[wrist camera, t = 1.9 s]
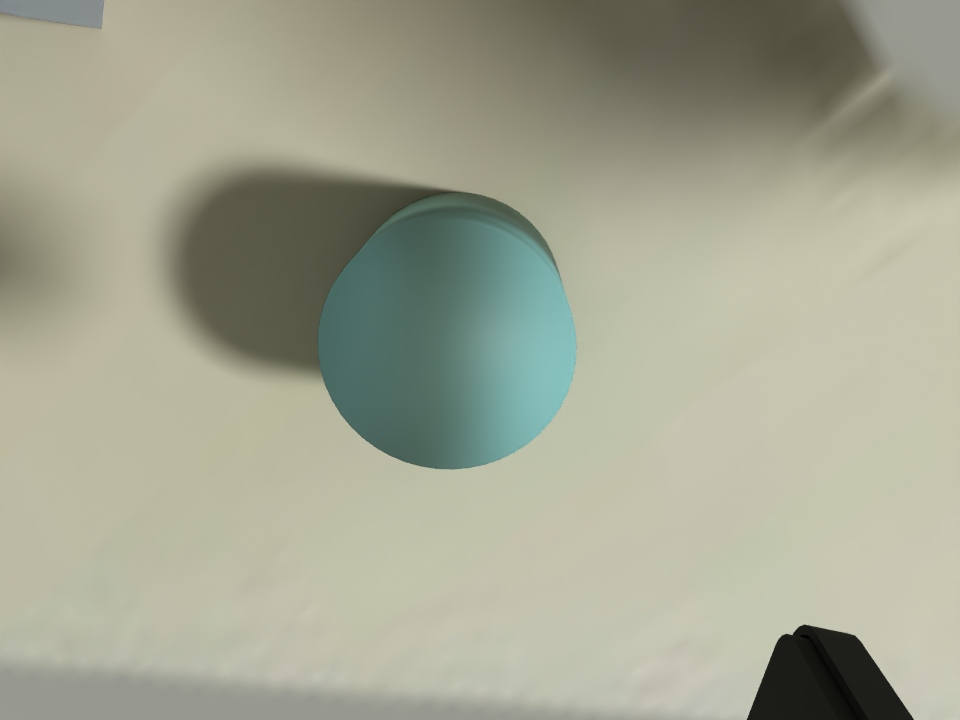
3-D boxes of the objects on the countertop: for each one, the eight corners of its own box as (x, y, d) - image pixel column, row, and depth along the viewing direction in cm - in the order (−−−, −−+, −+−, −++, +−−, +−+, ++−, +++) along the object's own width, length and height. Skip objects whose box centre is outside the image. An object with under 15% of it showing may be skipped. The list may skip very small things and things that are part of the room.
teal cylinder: (584, 218, 25) (606, 255, 19) (532, 411, 26) (541, 492, 21) (376, 170, 24) (342, 193, 19) (339, 368, 26) (298, 439, 21)
